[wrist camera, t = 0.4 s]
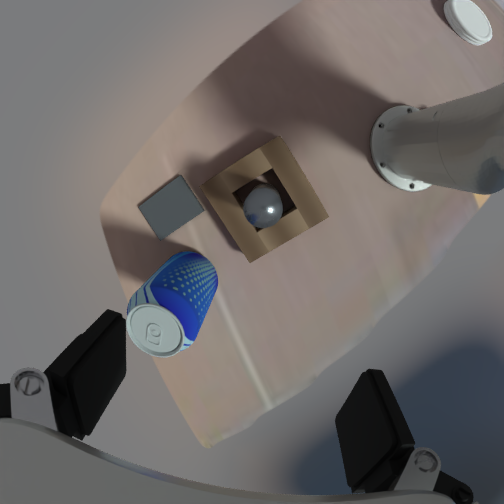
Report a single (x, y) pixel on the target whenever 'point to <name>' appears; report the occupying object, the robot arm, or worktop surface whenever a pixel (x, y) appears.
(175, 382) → the worktop surface
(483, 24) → the white cheese wheel
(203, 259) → the beer can
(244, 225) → the pocket block
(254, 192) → the rod
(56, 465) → the robot arm
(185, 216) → the mat
